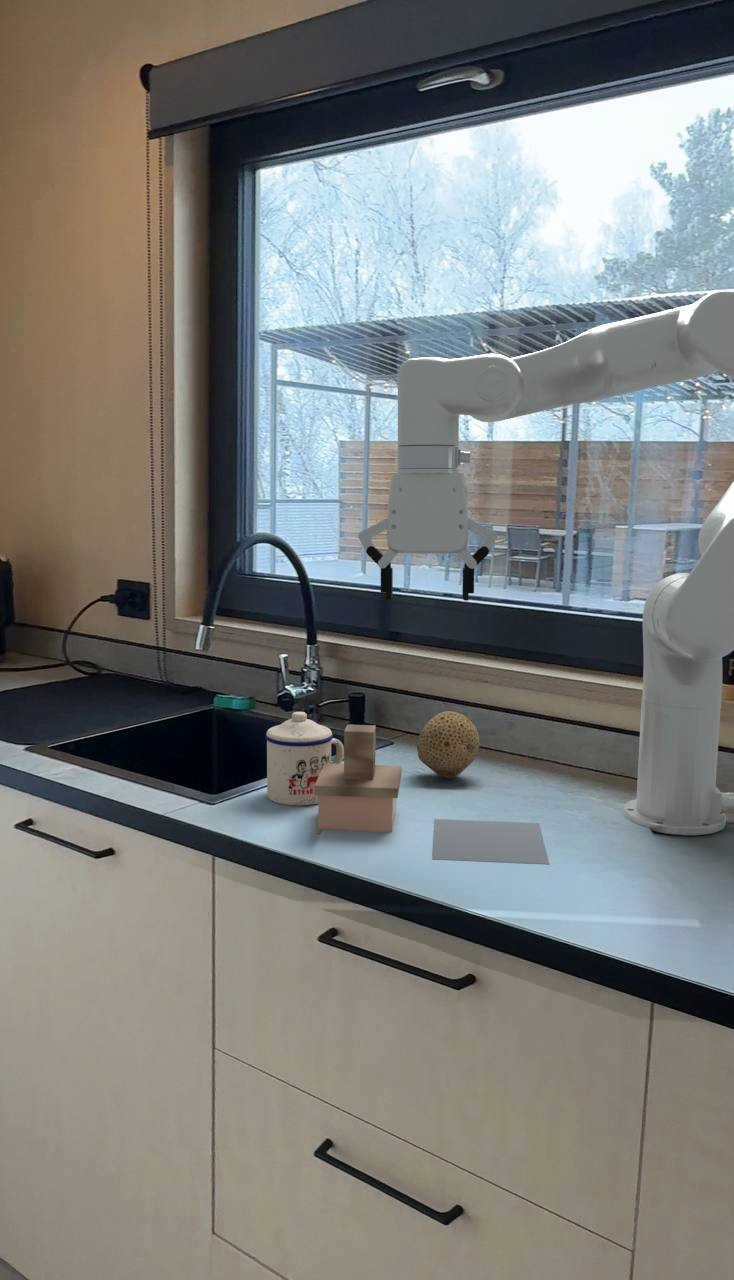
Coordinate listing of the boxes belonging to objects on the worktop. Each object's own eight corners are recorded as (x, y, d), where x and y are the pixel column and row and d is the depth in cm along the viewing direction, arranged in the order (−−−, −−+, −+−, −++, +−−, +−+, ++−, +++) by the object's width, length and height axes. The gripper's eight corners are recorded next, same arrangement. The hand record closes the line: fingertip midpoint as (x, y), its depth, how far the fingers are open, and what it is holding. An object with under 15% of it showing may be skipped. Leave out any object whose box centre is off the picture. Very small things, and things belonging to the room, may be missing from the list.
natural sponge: (481, 788, 143) (483, 719, 142) (417, 787, 144) (419, 718, 142) (475, 771, 152) (477, 705, 151) (415, 769, 152) (417, 704, 151)
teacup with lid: (291, 811, 132) (291, 723, 131) (252, 794, 139) (252, 711, 138) (362, 794, 140) (363, 711, 138) (322, 779, 147) (322, 700, 145)
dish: (396, 813, 132) (396, 775, 131) (392, 836, 123) (392, 796, 123) (327, 810, 133) (327, 773, 132) (318, 833, 124) (318, 793, 123)
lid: (401, 774, 132) (402, 720, 131) (397, 798, 122) (398, 739, 121) (324, 772, 133) (324, 718, 132) (314, 795, 123) (314, 736, 122)
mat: (538, 827, 127) (539, 823, 127) (549, 869, 113) (549, 864, 113) (434, 823, 128) (434, 819, 128) (431, 864, 115) (432, 859, 114)
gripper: (496, 462, 129) (494, 596, 132) (360, 462, 131) (361, 595, 133) (499, 460, 122) (497, 603, 125) (355, 461, 123) (356, 602, 126)
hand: (427, 599), depth 129 cm, fingers open, 9 cm apart
